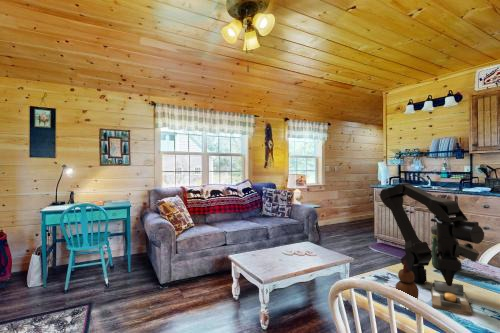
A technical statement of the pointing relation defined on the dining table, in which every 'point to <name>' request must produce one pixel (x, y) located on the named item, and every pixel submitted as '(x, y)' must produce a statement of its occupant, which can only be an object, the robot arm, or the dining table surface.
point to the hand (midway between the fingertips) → (448, 280)
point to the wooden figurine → (407, 281)
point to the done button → (450, 297)
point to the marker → (448, 287)
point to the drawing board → (442, 303)
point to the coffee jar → (434, 245)
